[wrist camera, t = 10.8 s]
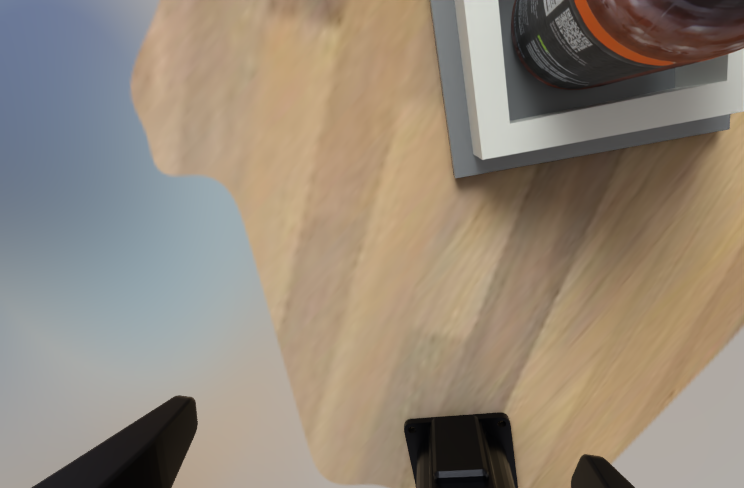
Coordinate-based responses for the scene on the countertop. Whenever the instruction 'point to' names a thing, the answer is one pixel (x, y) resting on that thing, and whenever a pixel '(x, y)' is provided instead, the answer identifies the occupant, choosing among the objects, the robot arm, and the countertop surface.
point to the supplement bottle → (620, 37)
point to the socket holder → (561, 98)
